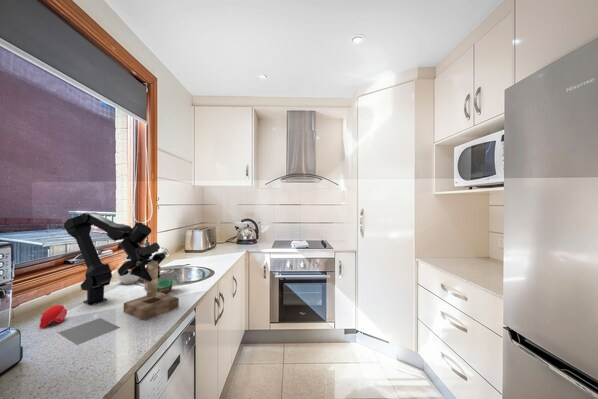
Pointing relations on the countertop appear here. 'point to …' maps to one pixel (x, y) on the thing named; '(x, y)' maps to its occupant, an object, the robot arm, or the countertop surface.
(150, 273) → the peg
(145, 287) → the soda can
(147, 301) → the hole block
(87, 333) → the mat
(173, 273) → the food container
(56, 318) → the cap
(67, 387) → the countertop surface
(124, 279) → the lidded jar
